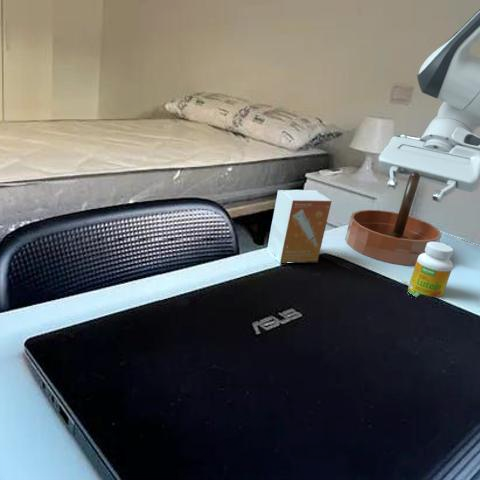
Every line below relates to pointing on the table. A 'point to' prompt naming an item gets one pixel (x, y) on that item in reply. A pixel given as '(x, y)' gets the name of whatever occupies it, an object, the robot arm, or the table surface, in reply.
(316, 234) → the small box
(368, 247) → the bowl
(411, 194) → the dark brown wooden dowel
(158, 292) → the table surface
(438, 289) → the supplement bottle
